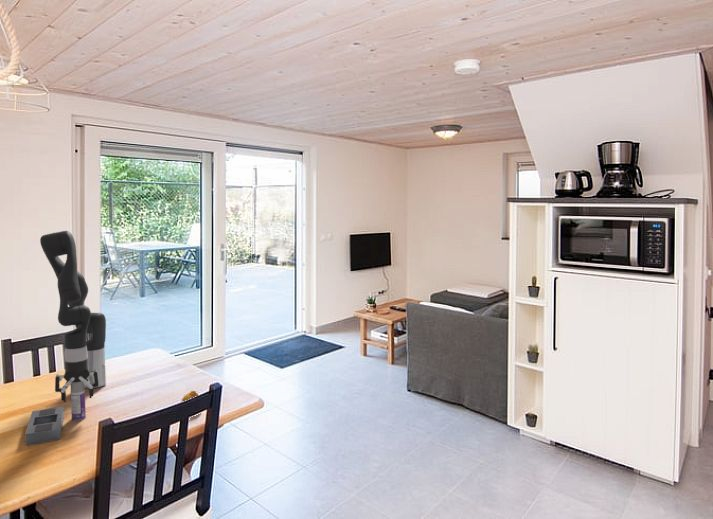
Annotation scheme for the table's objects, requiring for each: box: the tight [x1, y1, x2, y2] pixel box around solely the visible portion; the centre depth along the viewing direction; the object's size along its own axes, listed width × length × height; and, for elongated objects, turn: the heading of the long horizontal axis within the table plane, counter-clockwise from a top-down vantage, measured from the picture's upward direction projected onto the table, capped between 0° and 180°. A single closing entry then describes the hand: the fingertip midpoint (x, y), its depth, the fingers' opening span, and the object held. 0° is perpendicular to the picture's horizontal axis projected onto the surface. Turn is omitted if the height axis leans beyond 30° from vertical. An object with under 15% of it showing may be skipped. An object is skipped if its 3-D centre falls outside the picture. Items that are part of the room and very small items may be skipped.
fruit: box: [180, 390, 199, 403], centre depth 194 cm, size 8×8×8 cm
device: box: [24, 406, 65, 446], centre depth 174 cm, size 10×20×4 cm, turn 28°
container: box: [70, 381, 87, 422], centre depth 183 cm, size 5×5×15 cm
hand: (77, 399), depth 183 cm, fingers open, 8 cm apart
